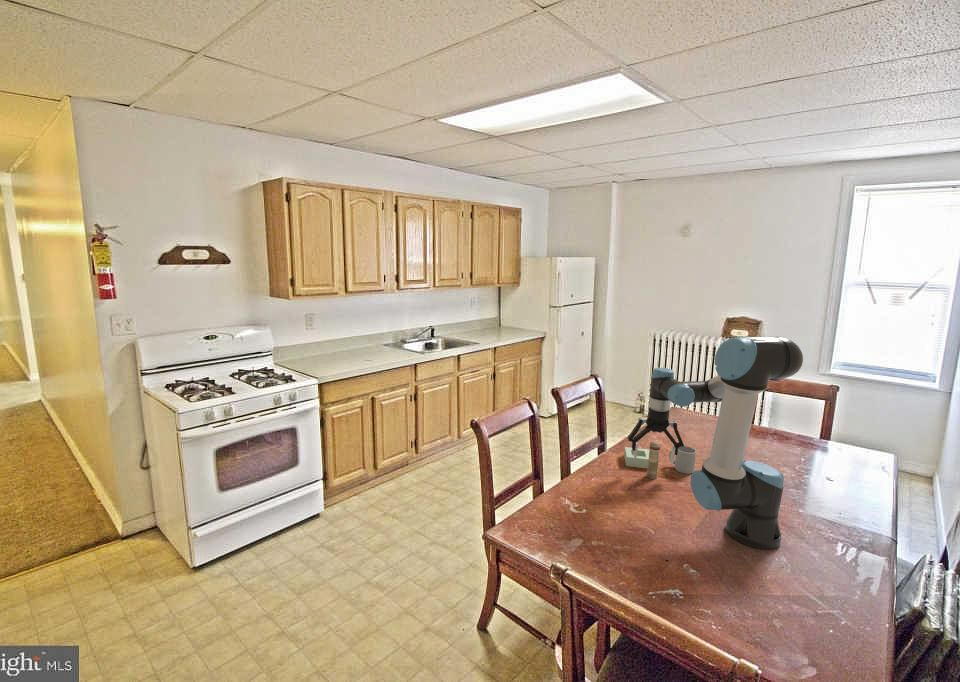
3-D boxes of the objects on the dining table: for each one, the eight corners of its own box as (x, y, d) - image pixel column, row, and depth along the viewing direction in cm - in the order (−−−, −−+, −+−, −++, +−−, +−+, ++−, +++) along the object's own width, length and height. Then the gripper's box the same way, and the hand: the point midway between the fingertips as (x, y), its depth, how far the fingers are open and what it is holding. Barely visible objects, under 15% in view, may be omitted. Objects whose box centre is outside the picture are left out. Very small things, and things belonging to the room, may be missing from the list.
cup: (691, 476, 187) (693, 455, 185) (665, 468, 193) (667, 447, 191) (695, 469, 193) (698, 449, 191) (670, 462, 199) (672, 442, 197)
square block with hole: (651, 468, 192) (652, 459, 191) (626, 466, 194) (627, 456, 193) (648, 458, 202) (649, 449, 201) (624, 455, 204) (624, 446, 203)
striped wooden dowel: (657, 479, 183) (661, 445, 181) (647, 478, 184) (650, 444, 181) (655, 475, 187) (659, 442, 184) (646, 474, 188) (649, 441, 185)
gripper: (691, 408, 181) (685, 459, 185) (624, 402, 186) (619, 452, 190) (696, 415, 174) (689, 468, 178) (625, 408, 179) (620, 460, 183)
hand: (653, 460), depth 184 cm, fingers open, 13 cm apart
